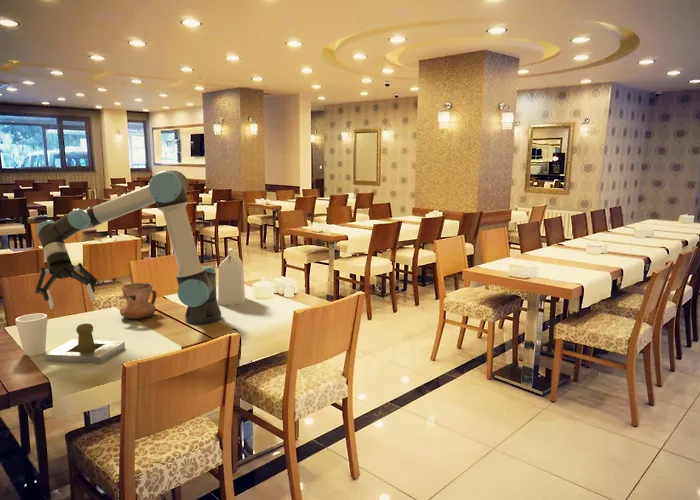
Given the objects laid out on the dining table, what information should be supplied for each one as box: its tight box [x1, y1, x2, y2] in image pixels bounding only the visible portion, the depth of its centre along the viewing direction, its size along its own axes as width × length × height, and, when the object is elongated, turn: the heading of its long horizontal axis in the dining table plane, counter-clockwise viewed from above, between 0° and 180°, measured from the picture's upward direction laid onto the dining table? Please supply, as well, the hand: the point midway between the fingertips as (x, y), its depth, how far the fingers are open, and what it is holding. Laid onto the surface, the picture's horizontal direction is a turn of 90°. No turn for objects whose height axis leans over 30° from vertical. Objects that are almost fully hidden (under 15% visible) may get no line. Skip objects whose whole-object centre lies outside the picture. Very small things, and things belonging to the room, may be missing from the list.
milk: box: [217, 247, 246, 306], centre depth 244 cm, size 12×12×26 cm
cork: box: [76, 323, 96, 353], centre depth 175 cm, size 6×6×11 cm
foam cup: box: [15, 312, 48, 357], centre depth 176 cm, size 10×9×13 cm
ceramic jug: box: [118, 282, 157, 320], centre depth 219 cm, size 18×14×14 cm
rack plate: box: [44, 338, 126, 365], centre depth 176 cm, size 20×15×2 cm
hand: (73, 303), depth 181 cm, fingers open, 13 cm apart
